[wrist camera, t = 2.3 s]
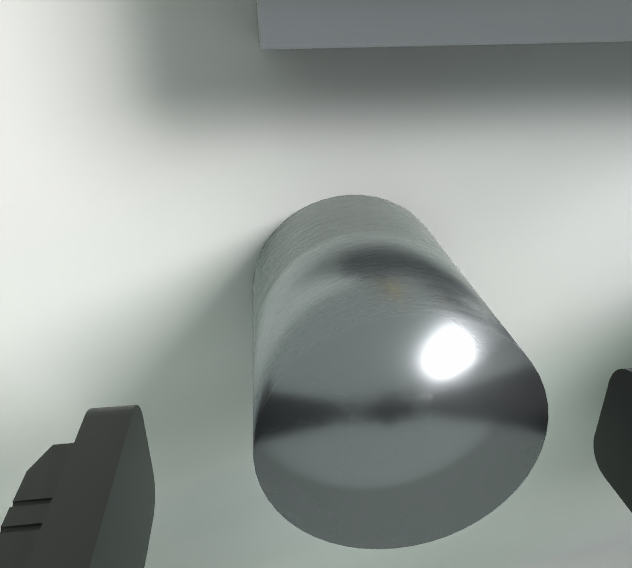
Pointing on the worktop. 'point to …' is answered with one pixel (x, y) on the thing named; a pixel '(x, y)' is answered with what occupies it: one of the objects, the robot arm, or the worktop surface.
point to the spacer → (383, 382)
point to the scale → (439, 22)
